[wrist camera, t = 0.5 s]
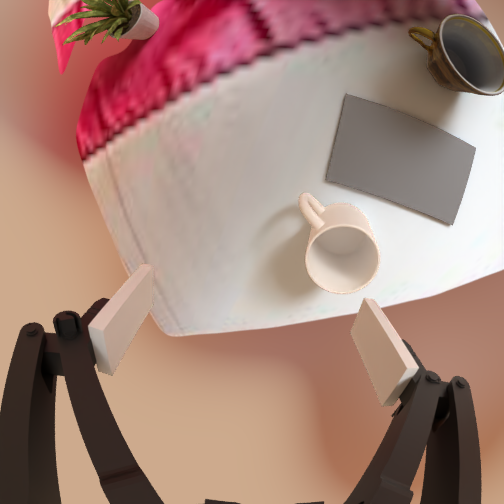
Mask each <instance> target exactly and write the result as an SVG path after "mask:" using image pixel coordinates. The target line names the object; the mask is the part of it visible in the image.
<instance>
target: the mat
mask: <svg viewBox="0 0 504 504" xmlns="http://www.w3.org/2000/svg"><path fill="white" fill-rule="evenodd" d="M475 151H476V148H475V147H473V146H472V145H470V144H468V143H466V142H464V141H463V140H461V139H459V138H457V137H455V136H453V135H451V134H449V133H447V132H445V131H443V130H441V129H439V128H437V127H435V126H432V125H430V124H428V123H426V122H423V121H421V120H419V119H417V118H414V117H412V116H409V115H407V114H404V113H402V112H399V111H397V110H394V109H391V108H388V107H386V106H383V105H380V104H377V103H374V102H371V101H368V100H365V99H362V98H358V97H355V96H352V95H348V94H346V96H345V101H344V105H343V110H342V114H341V119H340V123H339V128H338V132H337V136H336V141H335V145H334V149H333V153H332V157H331V161H330V165H329V169H328V173H327V177H326V180H329V181H332V182H335V183H339V184H342V185H345V186H348V187H352V188H355V189H358V190H361V191H364V192H367V193H370V194H373V195H376V196H379V197H382V198H385V199H387V200H390V201H393V202H396V203H398V204H401V205H404V206H407V207H409V208H412V209H414V210H417V211H420V212H422V213H425V214H427V215H430V216H432V217H434V218H437V219H439V220H442V221H444V222H446V223H449V224H451V225H453V223H454V220H455V218H456V215H457V212H458V209H459V206H460V204H461V201H462V198H463V194H464V191H465V188H466V185H467V181H468V178H469V174H470V171H471V167H472V163H473V159H474V155H475Z"/></svg>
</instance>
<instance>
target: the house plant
mask: <svg viewBox="0 0 504 504" xmlns="http://www.w3.org/2000/svg"><path fill="white" fill-rule="evenodd" d="M82 1H83V2H84V3H86V4H88V5H89V6H83V7H80V8H87V9H92V11H85V12H79V13H75V14H72V15H70V16H69V17H67V18H66V19H64V20H63V21H61V22H60V23H58V24H57V25H56V26H59V25H61V24H63V23H65V22H67V21H69V22H70V21H72V20H73V19H78V18H90V17H110V18H107V19H104V20H100V21H98V22H94V23H91V24H88V25H86V26H83V27H81V28H80V29H78V30H76V31H75V32H74V33H73V34H72V35H71V36H69V37H68V38H67V39H66V40H65V42H64V43H63V44H66V43H70V42H73V41H79V40H83V39H85V41H84V42H85V45H86V44H87V43H88V41H89V40H90V39H92V37H93V36H94V35H95V34H98V33H100V32H103V31H105V30H108V32H107V33H106V35H105V36H104V38H103V41H102V43H103V42H104V40H105V39H106V37H107V36H108V35H110V36H111V37H113V38H116V39H117V40H118V41H119V38H125V39H138V40H145V39H148V38H149V37H151V36H152V35H153V34H154V33H155V32H156V31H157V29H158V27H159V18H158V17H157V16H156V15H155V14H154V13H153V12H151V11H150V10H149V9H148V8H146V7H145V6H144V5H143V4H142V3H141V2H140V1H139V0H130V1H128V0H112V1H111V0H82ZM104 1H105V2H106V3H108V4H110V5H112V6H113V7H112V6H110V5H108V4H106V3H105V2H104ZM117 1H118V2H117ZM118 3H119V4H118ZM90 5H91V6H90ZM69 22H68V23H69ZM66 24H67V23H66ZM66 24H65V25H66ZM56 26H55V27H56ZM82 32H85V33H83V34H81V35H78V36H76V35H77V34H79V33H82ZM74 36H76V37H74ZM72 37H74V38H72ZM71 38H72V39H71ZM68 40H69V41H68ZM67 41H68V42H67Z"/></svg>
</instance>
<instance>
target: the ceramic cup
mask: <svg viewBox="0 0 504 504" xmlns="http://www.w3.org/2000/svg"><path fill="white" fill-rule="evenodd" d="M412 33H416V34H420V35H422V36H424V37H426V38H428V39H430V40H431V41H432V44H431V46H427V45H425V44H424V43H423V41H422V40H420V39H419V38H418V37H416V36H415V35H414V34H412ZM408 34H409V36H410V37H411V38H412V39H414V40H415V41H417V42H418V43H419V44H420V45H421V46H422V47H423V48H424V49H426V50H427V51H428V52H427V69H428V70H429V72H430V73H431V74H432V76H433V77H434V79H435V80H436V82H437V83H438V84H439V85H441V86H444V87H446V88H449V89H451V90H453V91H459V92H468V93H474V94H478V95H487V96H493V95H498V94H501V93H502V92H503V91H504V49H503V47H502V46H501V44H500V42H499V41H498V40H497V38H496V37H495V36H494V34H493V33H492V32H491V31H490V30H489V29H488V28H487V27H486V26H484V25H483V24H482V23H480V22H479V21H477V20H476V19H474V18H472V17H469V16H467V15H462V14H452V15H449V16H447V17H446V18H444V19H443V21H442V22H441V24H440V26H439V27H438V30H437V32H436V34H435V33H434V32H432V31H431V30H429V29H426V28H422V27H413V28H411V29H409V31H408Z"/></svg>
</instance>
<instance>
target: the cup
mask: <svg viewBox="0 0 504 504" xmlns="http://www.w3.org/2000/svg"><path fill="white" fill-rule="evenodd" d="M298 202H299V207H300V210H301V212H302V214H303V215H304V217H305V218H306V220H307V221H308V222H309V223H310V225H311V226H312V227H311V232H310V236H309V241H308V245H307V249H306V254H305V265H306V269H307V272H308V274H309V276H310V277H311V279H312V280H313V281H314V282H315V283H316V284H317V285H318V286H319V287H321V288H322V289H324V290H326V291H328V292H332V293H336V294H348V293H353V292H356V291H358V290H360V289H362V288H364V287H365V286H367V285H368V284H369V283H370V282H371V281H372V280H373V278H374V277H375V275H376V274H377V272H378V269H379V265H380V251H379V248H378V245H377V242H376V240H375V237H374V234H373V232H372V229H371V227H370V224H369V222H368V220H367V218H366V216H365V215H364V214H363V212H362V211H361V210H360V209H358V208H357V207H355V206H353V205H351V204H348V203H333V204H330V205H328V206H326V207H323V206H322V204H321V203H320V202H319V201H318V200H317V199H316V198H314V197H313V196H312V195H311V194H309V193H302V194H301V195H300V196H299V199H298ZM310 206H311V207H312V208H313V210H314V211H315V212H316V213H317V214H316V213H315V212H314V211H313V210H312V208H311V207H310Z"/></svg>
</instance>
